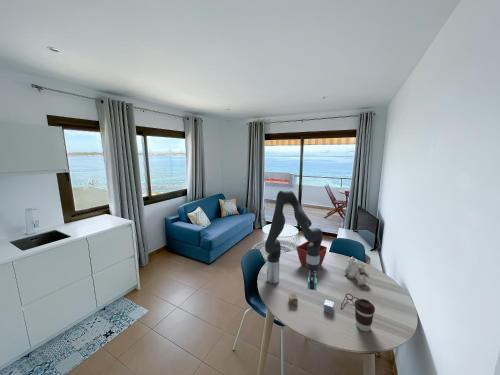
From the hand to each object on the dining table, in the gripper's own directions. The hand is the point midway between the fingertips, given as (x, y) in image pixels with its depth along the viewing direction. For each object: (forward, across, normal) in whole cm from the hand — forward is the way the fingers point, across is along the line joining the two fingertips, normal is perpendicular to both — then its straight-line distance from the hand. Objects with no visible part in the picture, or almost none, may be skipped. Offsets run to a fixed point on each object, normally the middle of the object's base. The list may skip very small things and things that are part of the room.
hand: (312, 286), depth 124 cm
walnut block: (+17, -4, -12) cm, 22 cm away
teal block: (0, 0, 0) cm, 0 cm away
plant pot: (+18, -55, -3) cm, 58 cm away
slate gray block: (+17, -4, +10) cm, 21 cm away
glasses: (+18, -11, +25) cm, 33 cm away
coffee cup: (+17, +3, +28) cm, 33 cm away
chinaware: (+18, -48, +31) cm, 60 cm away
